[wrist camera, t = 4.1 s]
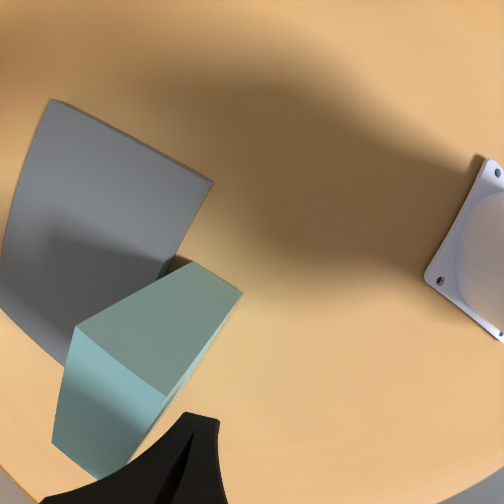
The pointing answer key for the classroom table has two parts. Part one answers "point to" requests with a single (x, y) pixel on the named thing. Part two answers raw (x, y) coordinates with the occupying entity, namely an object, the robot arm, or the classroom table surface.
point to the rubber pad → (89, 224)
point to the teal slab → (135, 365)
